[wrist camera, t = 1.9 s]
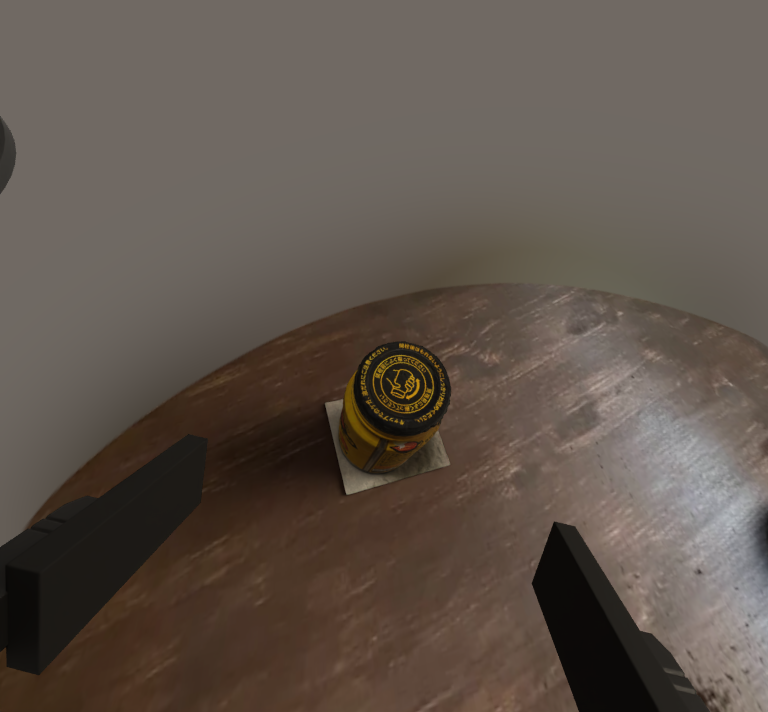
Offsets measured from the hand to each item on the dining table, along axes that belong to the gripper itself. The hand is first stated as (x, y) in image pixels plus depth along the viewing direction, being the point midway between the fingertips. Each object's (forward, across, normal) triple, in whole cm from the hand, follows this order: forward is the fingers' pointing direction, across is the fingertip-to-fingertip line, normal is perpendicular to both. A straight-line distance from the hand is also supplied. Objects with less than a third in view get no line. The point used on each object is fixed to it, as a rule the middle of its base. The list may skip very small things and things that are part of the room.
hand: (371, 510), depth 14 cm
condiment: (+16, 0, -4) cm, 17 cm away
